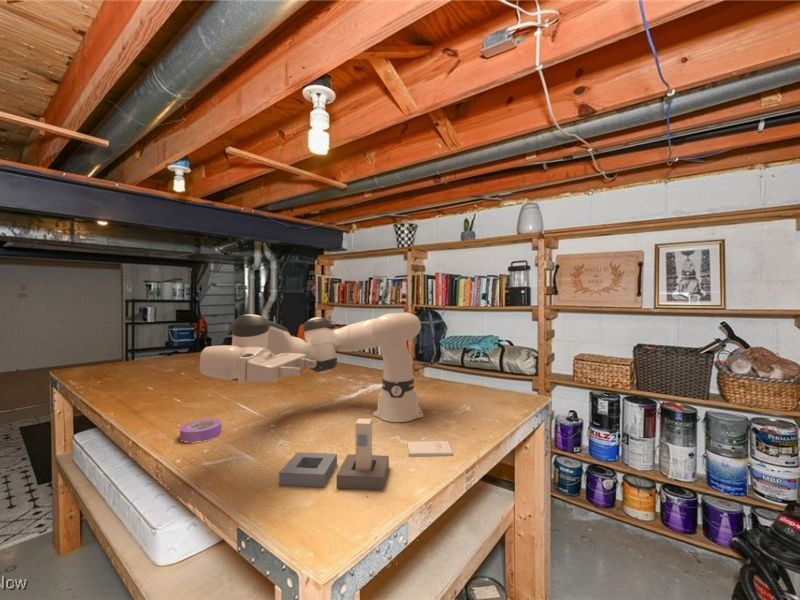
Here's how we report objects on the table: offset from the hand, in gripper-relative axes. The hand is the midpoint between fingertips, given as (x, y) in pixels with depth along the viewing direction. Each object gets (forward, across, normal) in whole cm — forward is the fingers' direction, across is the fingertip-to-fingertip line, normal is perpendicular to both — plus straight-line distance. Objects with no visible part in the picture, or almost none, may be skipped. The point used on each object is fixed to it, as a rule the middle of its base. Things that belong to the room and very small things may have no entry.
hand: (308, 367), depth 90 cm
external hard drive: (+31, -18, -26) cm, 44 cm away
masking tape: (-43, -17, -29) cm, 55 cm away
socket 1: (+2, +1, -27) cm, 27 cm away
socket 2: (+16, 0, -26) cm, 31 cm away
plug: (+16, 0, -26) cm, 31 cm away
